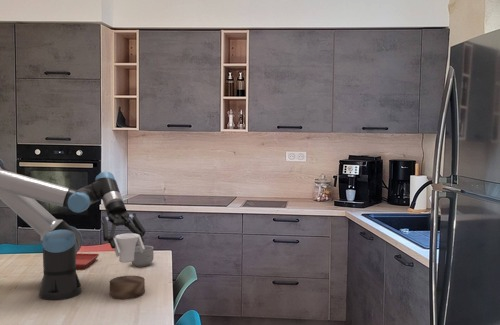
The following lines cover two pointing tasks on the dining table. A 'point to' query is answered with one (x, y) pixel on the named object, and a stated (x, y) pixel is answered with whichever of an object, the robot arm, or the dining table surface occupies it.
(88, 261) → the plant saucer
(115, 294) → the walnut stand
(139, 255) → the teacup
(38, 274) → the dining table surface
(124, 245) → the cup
